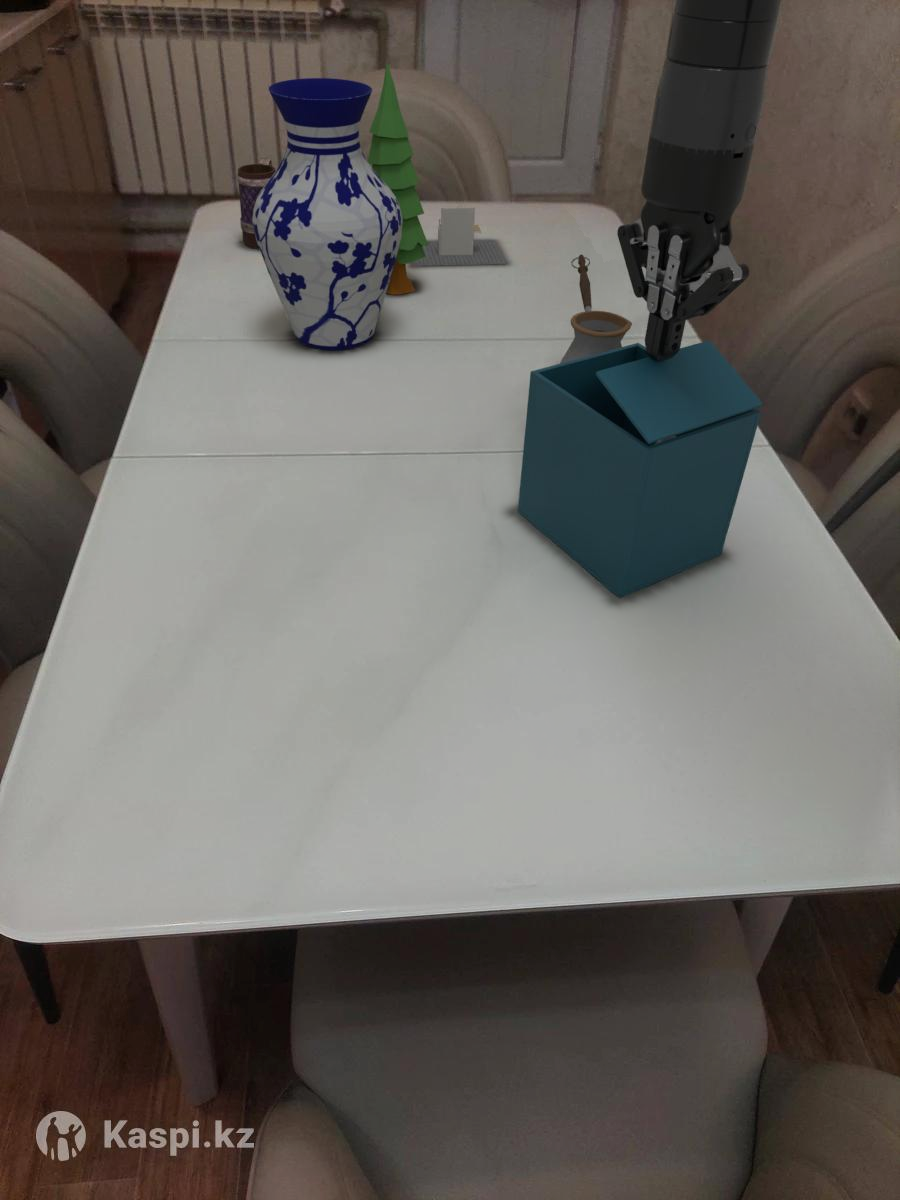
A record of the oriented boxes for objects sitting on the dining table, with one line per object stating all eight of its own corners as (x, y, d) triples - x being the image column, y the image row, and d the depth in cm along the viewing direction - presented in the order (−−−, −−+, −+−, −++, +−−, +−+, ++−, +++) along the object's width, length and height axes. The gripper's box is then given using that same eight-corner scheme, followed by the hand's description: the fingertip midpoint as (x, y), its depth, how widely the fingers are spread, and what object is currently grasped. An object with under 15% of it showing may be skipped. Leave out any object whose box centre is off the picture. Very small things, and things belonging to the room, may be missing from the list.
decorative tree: (380, 273, 141) (375, 54, 122) (436, 280, 139) (440, 59, 120) (359, 295, 134) (350, 66, 115) (418, 303, 132) (419, 72, 113)
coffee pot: (643, 452, 101) (667, 325, 91) (542, 451, 100) (556, 323, 91) (610, 368, 117) (628, 253, 108) (523, 367, 117) (533, 251, 107)
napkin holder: (436, 248, 151) (437, 202, 146) (476, 247, 152) (479, 201, 147) (439, 255, 148) (440, 208, 143) (480, 254, 149) (482, 207, 144)
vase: (268, 368, 115) (239, 107, 95) (262, 309, 129) (236, 72, 109) (413, 359, 118) (414, 105, 98) (392, 303, 132) (389, 71, 112)
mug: (277, 251, 147) (270, 173, 140) (236, 247, 148) (227, 170, 140) (296, 231, 155) (290, 157, 147) (257, 228, 156) (249, 154, 148)
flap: (761, 406, 76) (763, 403, 76) (648, 444, 71) (650, 441, 71) (707, 342, 79) (709, 339, 79) (595, 374, 74) (596, 371, 73)
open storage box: (721, 555, 86) (761, 411, 76) (618, 598, 81) (648, 450, 71) (614, 477, 97) (638, 342, 87) (517, 511, 91) (530, 371, 81)
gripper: (604, 117, 67) (577, 336, 78) (732, 160, 59) (681, 398, 70) (677, 108, 70) (641, 320, 81) (809, 147, 62) (748, 377, 73)
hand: (660, 356), depth 76 cm, fingers closed
